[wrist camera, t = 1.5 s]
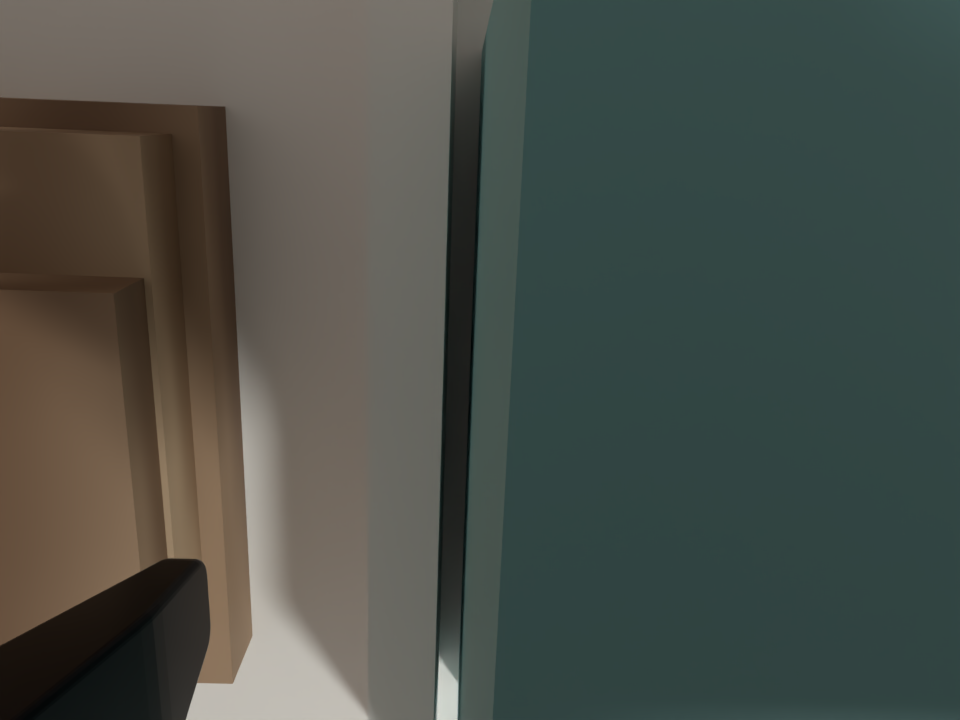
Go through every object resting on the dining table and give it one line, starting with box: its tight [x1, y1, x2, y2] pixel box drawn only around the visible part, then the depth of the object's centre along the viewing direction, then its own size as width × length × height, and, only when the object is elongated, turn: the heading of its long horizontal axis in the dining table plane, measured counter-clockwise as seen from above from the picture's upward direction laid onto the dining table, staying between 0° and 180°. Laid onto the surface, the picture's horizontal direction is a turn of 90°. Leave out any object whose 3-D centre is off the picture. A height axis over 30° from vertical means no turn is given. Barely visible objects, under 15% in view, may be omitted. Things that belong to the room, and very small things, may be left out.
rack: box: [0, 0, 493, 720], centre depth 13 cm, size 14×15×4 cm
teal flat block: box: [457, 0, 960, 720], centre depth 9 cm, size 3×12×11 cm, turn 178°
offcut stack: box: [0, 97, 253, 684], centre depth 13 cm, size 5×10×4 cm, turn 178°
